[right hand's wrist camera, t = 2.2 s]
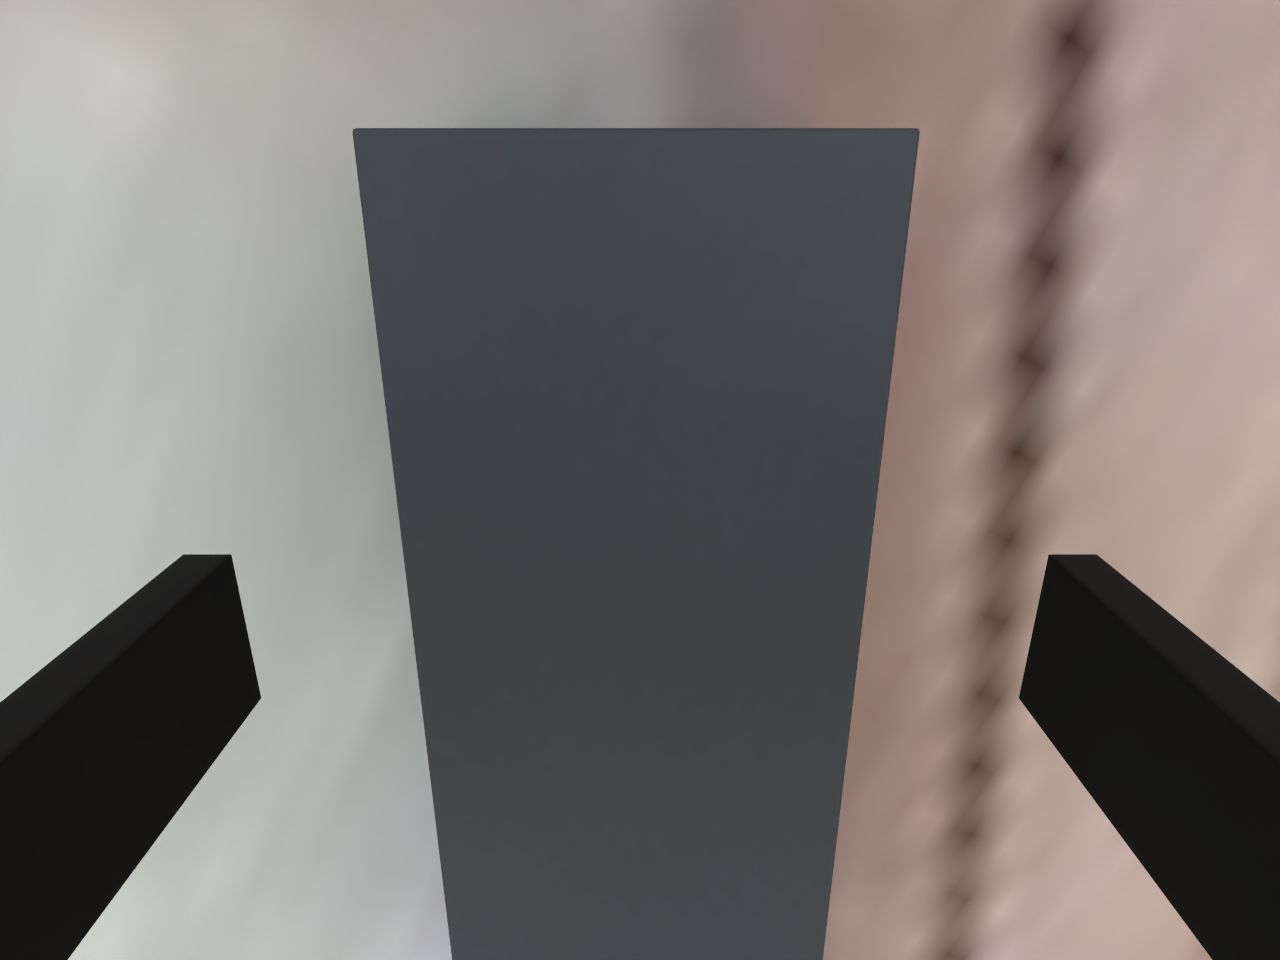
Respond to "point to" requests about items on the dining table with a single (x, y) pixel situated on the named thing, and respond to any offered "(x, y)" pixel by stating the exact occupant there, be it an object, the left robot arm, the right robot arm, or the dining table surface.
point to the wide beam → (636, 514)
